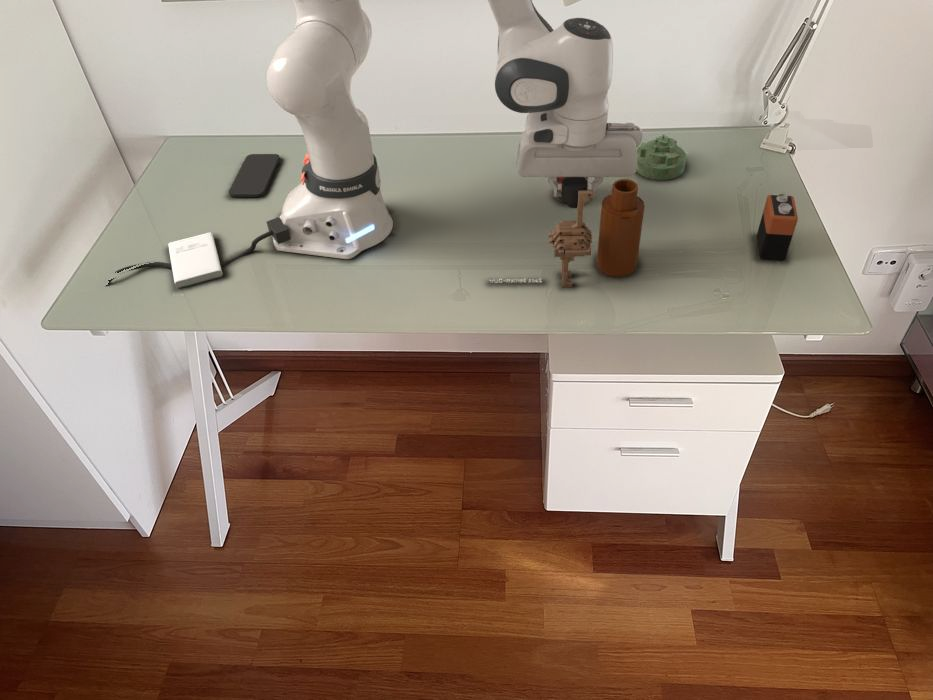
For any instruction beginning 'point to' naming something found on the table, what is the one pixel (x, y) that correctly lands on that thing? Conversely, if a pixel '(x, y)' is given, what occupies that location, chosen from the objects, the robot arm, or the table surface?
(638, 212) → the bottle
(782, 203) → the battery
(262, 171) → the phone
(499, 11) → the robot arm
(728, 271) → the table surface
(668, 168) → the decorative artifact
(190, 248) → the white power adapter
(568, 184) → the bung
